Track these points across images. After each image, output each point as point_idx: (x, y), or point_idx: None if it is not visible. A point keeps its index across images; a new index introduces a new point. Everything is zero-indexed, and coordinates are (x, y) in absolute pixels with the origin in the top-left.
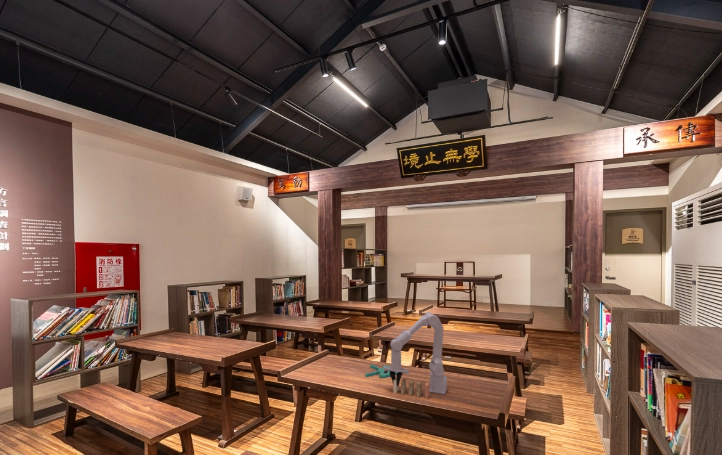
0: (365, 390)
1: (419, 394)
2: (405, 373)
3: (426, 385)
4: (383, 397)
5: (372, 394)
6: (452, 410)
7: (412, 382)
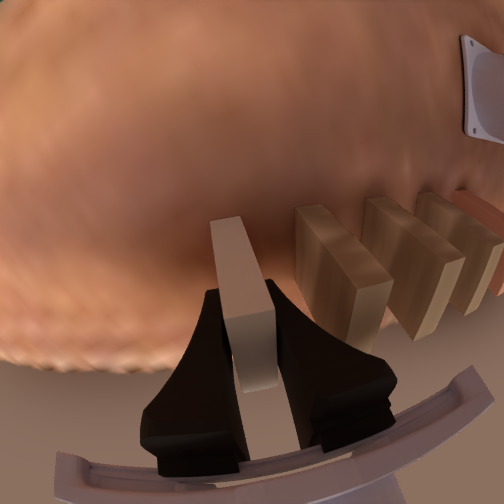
0: (47, 344)
1: None
2: (429, 402)
3: (501, 292)
4: None
5: (119, 369)
6: None
7: (442, 309)
